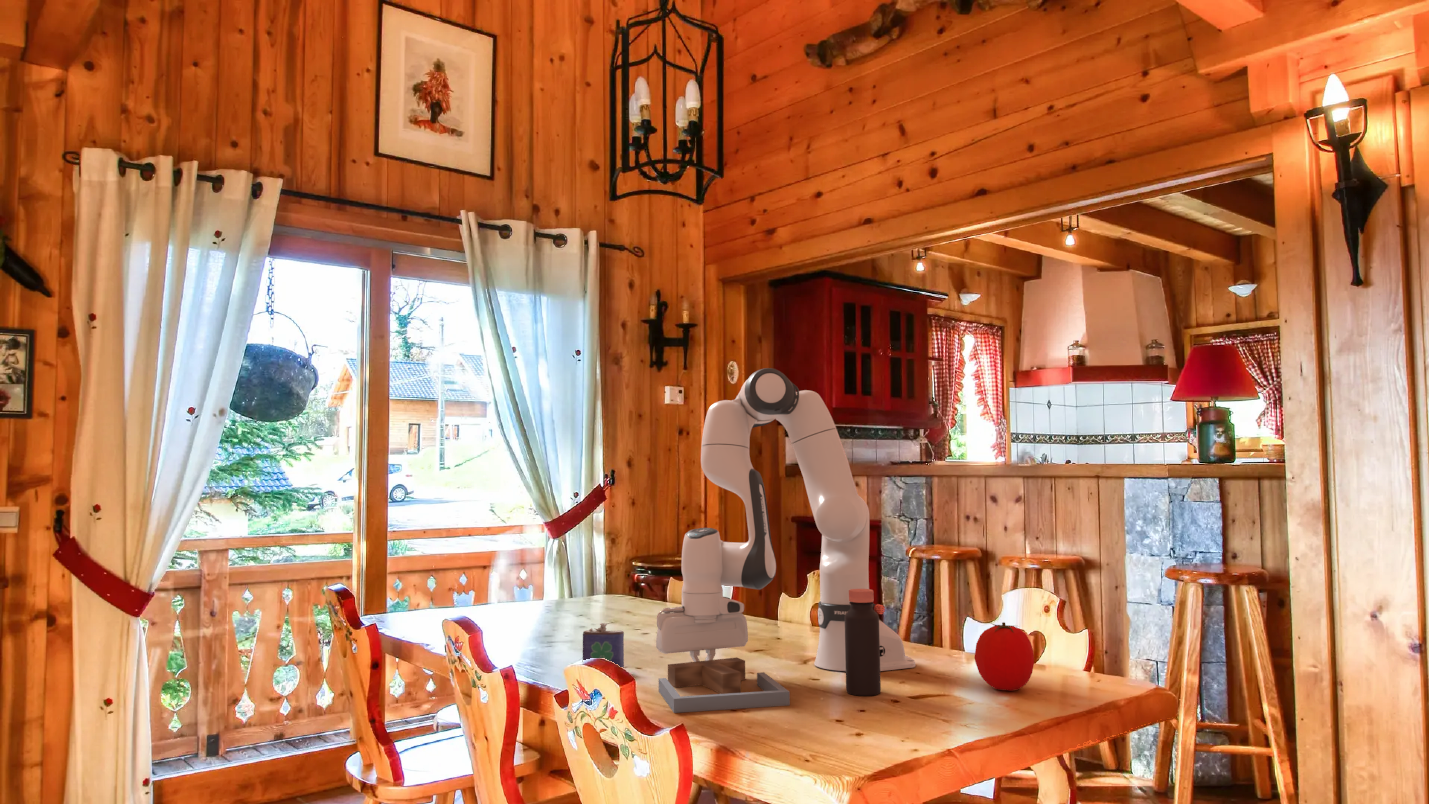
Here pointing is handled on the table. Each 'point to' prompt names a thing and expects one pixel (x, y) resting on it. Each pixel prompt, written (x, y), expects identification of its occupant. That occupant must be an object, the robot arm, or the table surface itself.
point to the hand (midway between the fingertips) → (702, 671)
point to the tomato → (1004, 657)
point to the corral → (727, 697)
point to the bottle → (862, 645)
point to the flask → (604, 644)
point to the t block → (709, 674)
